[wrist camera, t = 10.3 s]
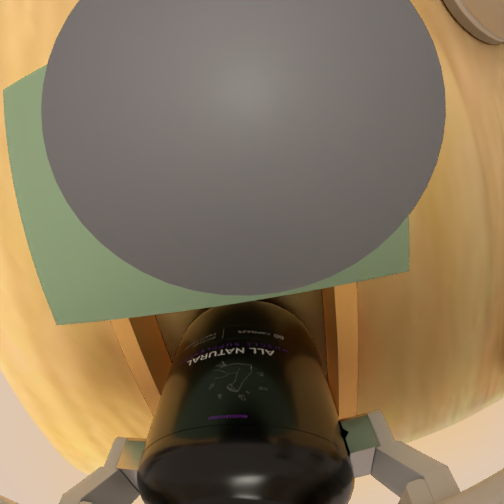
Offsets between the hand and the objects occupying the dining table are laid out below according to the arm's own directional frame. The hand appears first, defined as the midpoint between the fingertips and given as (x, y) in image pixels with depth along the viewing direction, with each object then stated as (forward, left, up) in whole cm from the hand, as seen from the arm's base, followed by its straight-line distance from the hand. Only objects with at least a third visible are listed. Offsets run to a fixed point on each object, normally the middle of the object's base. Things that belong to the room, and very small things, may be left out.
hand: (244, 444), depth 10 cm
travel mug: (-18, -18, -8) cm, 27 cm away
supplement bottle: (0, 0, -6) cm, 6 cm away
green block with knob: (0, -9, -8) cm, 12 cm away
